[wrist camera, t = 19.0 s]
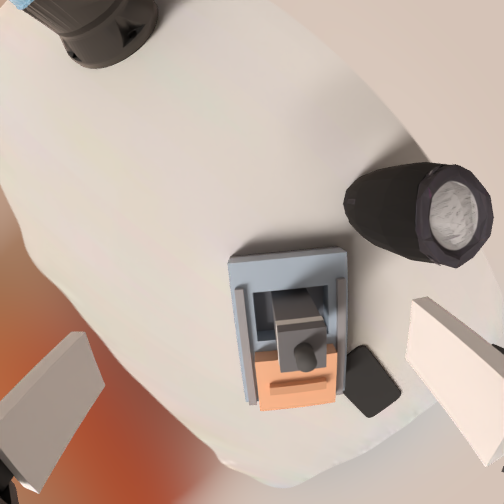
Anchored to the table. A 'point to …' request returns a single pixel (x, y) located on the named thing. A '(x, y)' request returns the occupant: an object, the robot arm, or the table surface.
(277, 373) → the panel
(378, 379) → the phone
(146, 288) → the table surface
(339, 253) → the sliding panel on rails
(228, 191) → the table surface
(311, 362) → the grey bottle-shaped block
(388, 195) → the portable speaker
